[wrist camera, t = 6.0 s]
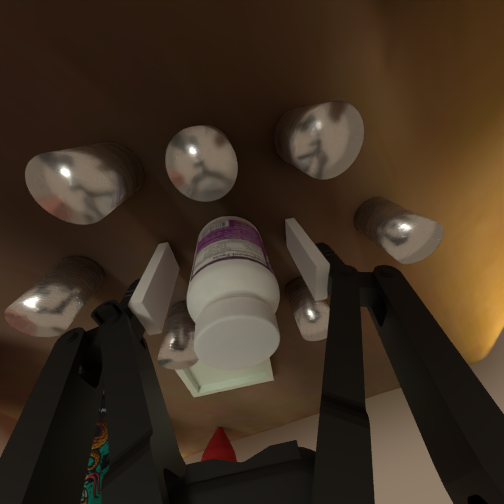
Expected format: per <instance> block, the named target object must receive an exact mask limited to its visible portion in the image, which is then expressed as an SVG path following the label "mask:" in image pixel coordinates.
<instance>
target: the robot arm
mask: <svg viewBox="0 0 504 504" xmlns="http://www.w3.org/2000/svg"><path fill="white" fill-rule="evenodd" d="M285 228H286V243H287V249H288V250H289V252H290V254H291V256H292V258H293V260H294V262H295V264H296V266H297V268H298V269H299V271H300V273H301V275H302V277H303V279H304V281H305V283H306V285H307V286H308V288H309V290H310V292H311V294H312V296H313V298H314V300H315V301H319V300H324V299H327V294H328V293H329V295H330V297H331V300H330V311H329V321H328V332H327V342H326V353H325V363H324V374H323V384H322V395H321V405H320V416H319V426H318V436H317V447H316V452H315V451H313V450H310V449H307V448H304V447H298V445H297V441H296V440H294V441H289V442H285V443H281V444H276V445H272V446H269V447H267V448H266V449H264V450H263V451H261V452H259V453H258V454H256V455H254V456H253V457H251V458H250V459H248V460H246V461H245V462H241V463H240V462H233V461H227V460H220V459H210V460H205V461H201V462H196V463H192V464H188V465H187V466H186V464H185V462H184V460H183V458H182V456H181V454H180V451H179V448H178V445H177V441H176V438H175V435H174V432H173V428H172V425H171V422H170V418H169V415H168V412H167V409H166V405H165V402H164V399H163V395H162V392H161V389H160V386H159V382H158V379H157V376H156V372H155V369H154V366H153V363H152V359H151V356H150V353H149V349H148V346H147V343H146V340H145V338H144V337H143V334H144V331H145V330H146V332H147V333H148V335H154V334H159V333H162V329H163V326H164V322H165V319H166V315H167V312H168V308H169V304H170V301H171V297H172V294H173V290H174V287H175V283H176V280H177V276H178V272H179V269H180V268H179V266H178V264H177V261H176V259H175V257H174V255H173V252H172V250H171V248H170V245H169V243H168V242H166V243H161V244H158V246H157V248H156V250H155V252H154V254H153V256H152V258H151V260H150V262H149V264H148V266H147V268H146V270H145V272H144V274H143V276H142V278H141V279H138V280H135V281H134V282H133V283H132V284H131V285H130V287H129V289H128V290H127V292H126V294H125V297H124V298H123V299H122V301H121V303H120V305H119V303H118V302H117V301H115V300H111V301H107V302H104V303H103V304H101V305H99V306H98V307H97V308H96V309H95V310H94V311H93V312H92V314H91V317H92V318H93V319H94V321H95V322H96V323H97V324H98V325H99V327H96V328H94V329H92V330H89V331H87V332H86V331H85V330H84V329H83V328H79V327H78V328H74V329H72V330H70V331H68V332H66V333H65V334H63V335H62V336H61V337H60V338H59V339H58V340H57V342H56V343H55V345H54V347H53V349H52V351H51V353H50V355H49V357H48V359H47V362H46V364H45V366H44V368H43V370H42V372H41V374H40V376H39V378H38V380H37V382H36V384H35V386H34V389H33V391H32V393H31V395H30V397H29V399H28V401H27V403H26V405H25V407H24V409H23V411H22V414H21V416H20V418H19V420H18V422H17V424H16V426H15V428H14V430H13V433H12V434H11V436H10V438H9V441H8V443H7V445H6V447H5V449H4V451H3V453H2V455H1V457H0V504H80V503H81V498H82V493H83V488H84V484H85V479H86V474H87V469H88V464H89V459H90V454H91V449H92V444H93V439H94V435H95V430H96V425H97V420H98V415H99V410H100V405H101V400H102V395H103V390H104V394H105V407H106V421H107V435H108V449H109V469H108V471H107V472H106V473H105V474H104V475H103V478H102V481H101V504H375V502H374V501H375V500H374V485H373V469H372V452H371V436H370V423H369V417H368V414H367V412H366V407H365V390H364V370H363V351H362V331H361V312H360V306H362V307H367V308H368V310H369V312H370V315H371V317H372V320H373V322H374V324H375V327H376V329H377V331H378V334H379V336H380V338H381V341H382V343H383V346H384V348H385V350H386V353H387V355H388V357H389V360H390V362H391V364H392V367H393V369H394V372H395V374H396V376H397V379H398V381H399V383H400V386H401V388H402V390H403V393H404V395H405V398H406V400H407V402H408V405H409V407H410V409H411V412H412V414H413V416H414V419H415V421H416V423H417V426H418V428H419V431H420V433H421V435H422V438H423V440H424V442H425V445H426V447H427V450H428V452H429V454H430V457H431V459H432V461H433V464H434V466H435V468H436V470H437V472H438V474H439V477H440V479H441V481H442V483H443V485H444V487H445V489H446V491H447V492H448V494H449V496H450V498H451V500H452V502H453V504H504V414H503V413H502V411H501V410H500V409H499V407H498V406H497V404H496V403H495V402H494V400H493V399H492V397H491V396H490V395H489V393H488V392H487V391H486V389H485V388H484V387H483V385H482V384H481V382H480V381H479V380H478V378H477V377H476V375H475V374H474V373H473V371H472V370H471V369H470V367H469V366H468V364H467V363H466V362H465V360H464V359H463V357H462V356H461V355H460V353H459V352H458V350H457V349H456V348H455V346H454V345H453V344H452V342H451V341H450V339H449V338H448V337H447V335H446V334H445V332H444V331H443V330H442V328H441V327H440V326H439V324H438V323H437V321H436V320H435V319H434V317H433V316H432V315H431V313H430V312H429V310H428V309H427V308H426V306H425V305H424V303H423V302H422V301H421V299H420V298H419V297H418V295H417V294H416V292H415V291H414V290H413V288H412V287H411V286H410V284H409V283H408V281H407V280H406V279H405V277H404V276H403V274H402V273H401V272H400V271H399V270H398V269H396V268H394V267H391V266H387V265H381V266H377V267H375V268H374V270H373V272H358V271H357V270H356V269H355V268H354V267H352V266H349V265H345V264H344V263H343V262H342V260H341V259H340V258H339V257H338V256H337V255H336V254H335V252H334V251H332V249H331V248H330V247H329V246H328V245H326V244H325V243H323V242H322V243H317V244H314V243H313V242H312V240H311V239H310V238H309V237H308V235H307V234H306V233H305V231H304V230H303V229H302V227H301V226H300V225H299V224H298V222H297V221H296V220H295V218H290V219H285Z"/></svg>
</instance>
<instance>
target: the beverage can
mask: <svg viewBox="0 0 504 504" xmlns="http://www.w3.org/2000/svg"><path fill="white" fill-rule="evenodd" d="M108 469H109V449H108V435H107V421H106V407H105V395H102V400H101V405H100V410H99V415H98V420H97V425H96V430H95V435H94V439H93V444H92V449H91V454H90V459H89V464H88V469H87V474H86V479H85V484H84V488H83V493H82V498H81V503H80V504H101V481H102V478H103V475H104V474H105V473H106V472H107V471H108Z"/></svg>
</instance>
